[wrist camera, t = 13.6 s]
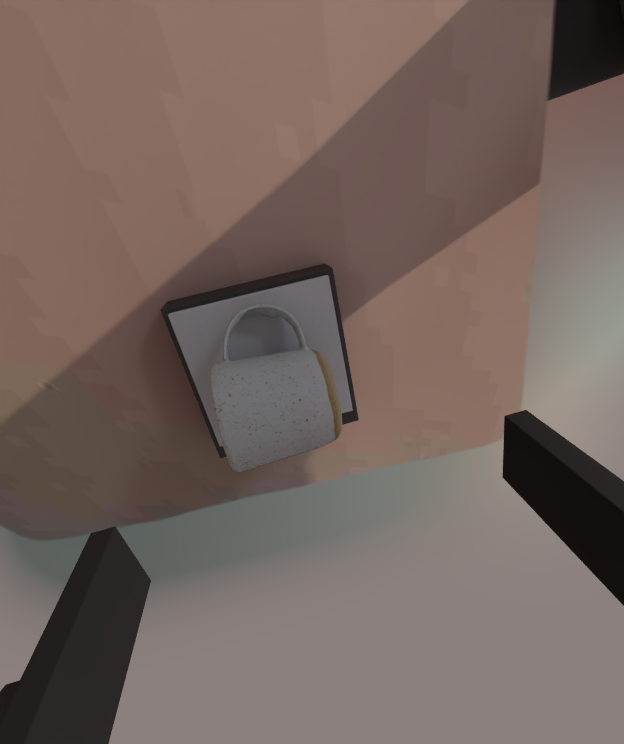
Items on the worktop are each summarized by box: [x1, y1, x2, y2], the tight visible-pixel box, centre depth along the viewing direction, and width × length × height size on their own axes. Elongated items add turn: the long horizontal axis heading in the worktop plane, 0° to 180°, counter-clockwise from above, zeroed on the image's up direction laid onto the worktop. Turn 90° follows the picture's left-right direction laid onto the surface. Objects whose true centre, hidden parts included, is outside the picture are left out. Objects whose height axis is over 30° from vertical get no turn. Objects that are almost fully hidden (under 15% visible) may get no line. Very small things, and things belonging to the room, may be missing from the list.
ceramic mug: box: [210, 304, 342, 472], centre depth 25 cm, size 11×8×8 cm
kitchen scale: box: [161, 264, 358, 458], centre depth 30 cm, size 13×14×3 cm
